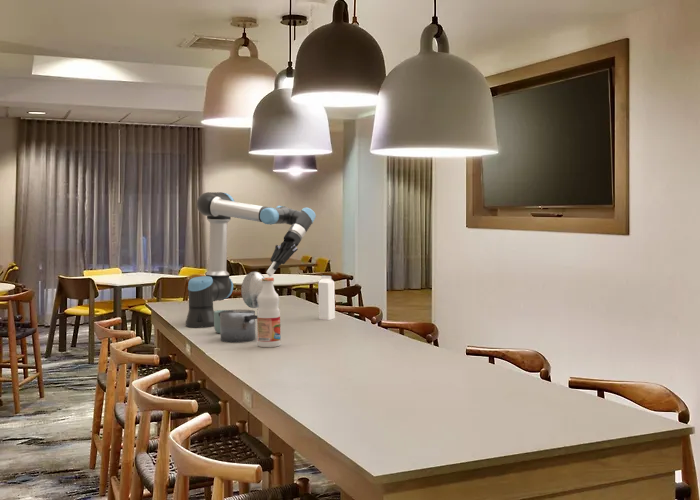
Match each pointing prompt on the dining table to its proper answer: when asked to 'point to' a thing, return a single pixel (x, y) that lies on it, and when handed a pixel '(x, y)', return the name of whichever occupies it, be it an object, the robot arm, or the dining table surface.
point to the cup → (217, 320)
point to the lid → (252, 288)
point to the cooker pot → (237, 325)
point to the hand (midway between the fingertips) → (268, 274)
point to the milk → (326, 298)
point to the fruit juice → (268, 315)
